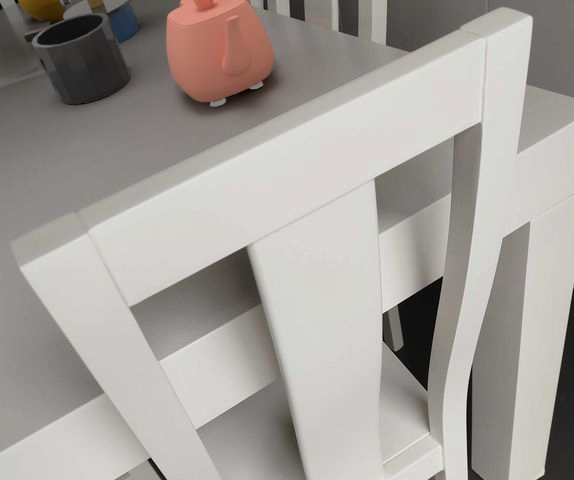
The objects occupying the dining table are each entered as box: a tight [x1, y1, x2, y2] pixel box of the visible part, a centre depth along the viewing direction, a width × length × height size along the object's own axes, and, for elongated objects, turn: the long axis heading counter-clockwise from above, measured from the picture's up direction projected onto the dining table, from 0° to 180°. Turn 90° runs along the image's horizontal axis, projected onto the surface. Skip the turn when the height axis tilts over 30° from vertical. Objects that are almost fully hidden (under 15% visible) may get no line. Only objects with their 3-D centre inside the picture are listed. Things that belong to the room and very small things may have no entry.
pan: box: [108, 1, 140, 43], centre depth 106 cm, size 12×12×4 cm
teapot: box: [165, 0, 275, 103], centre depth 77 cm, size 13×20×12 cm, turn 27°
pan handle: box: [23, 24, 51, 44], centre depth 105 cm, size 8×2×1 cm, turn 102°
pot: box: [31, 13, 132, 105], centre depth 90 cm, size 12×12×8 cm
